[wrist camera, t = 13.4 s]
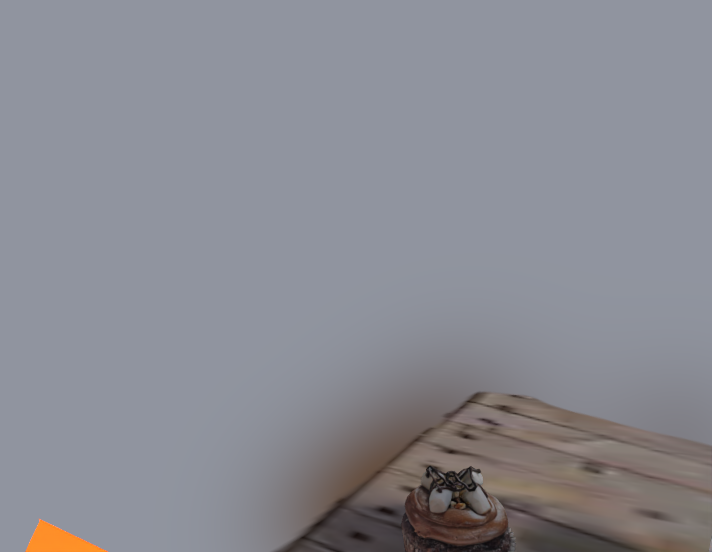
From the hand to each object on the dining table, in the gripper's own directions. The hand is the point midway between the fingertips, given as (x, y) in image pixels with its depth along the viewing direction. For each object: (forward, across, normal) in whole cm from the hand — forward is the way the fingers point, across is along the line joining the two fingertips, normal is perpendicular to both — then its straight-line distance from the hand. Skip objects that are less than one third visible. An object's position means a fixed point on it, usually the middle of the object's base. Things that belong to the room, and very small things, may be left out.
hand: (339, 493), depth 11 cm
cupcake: (+41, +14, -32) cm, 54 cm away
